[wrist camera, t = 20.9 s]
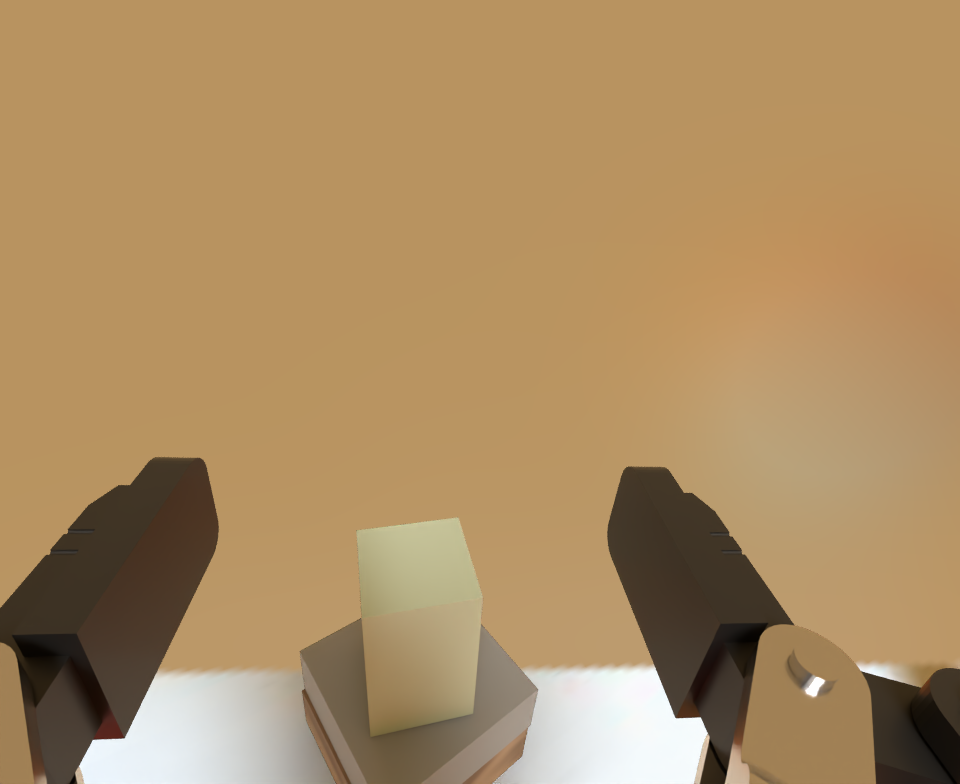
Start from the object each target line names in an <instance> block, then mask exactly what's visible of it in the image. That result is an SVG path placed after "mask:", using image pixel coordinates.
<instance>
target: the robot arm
mask: <svg viewBox="0 0 960 784" xmlns="http://www.w3.org/2000/svg"><path fill="white" fill-rule="evenodd" d="M218 528H219V526H218V518H217V513H216V509H215V504H214V499H213V495H212V490H211V486H210V481H209V476H208V472H207V468H206V465H205V462H204V461H203V460H202V459H201V458H169V457H155V458H153V459H152V460H150V461H149V462H148V463H147V465H146V466H145V467H144V468H143V470H142V471H141V472H140V473H139V475H138V476H137V477H136V478H135V480H134V481H133V482H132V484H131V485H118V486H117V487H116V488H114V489H112V490H111V491H109V492H108V493H106V494H105V495H103V496H102V497H100V498H99V499H97V500H96V501H94V502H93V503H91V504H90V505H88V507H87V508H86V509H85V510H84V511H83V512H82V514H81V515H80V516H79V517H78V518H77V520H76V521H75V522H74V523H73V524H72V525H71V526H70V528H69V529H68V533H67V534H64V535H63V536H62V537H61V538H60V539H59V540H58V542H57V543H56V544H55V545H54V546H53V547H52V549H51V553H50V555H46V556H45V557H44V558H43V559H42V560H41V561H40V563H39V564H38V565H37V566H36V567H35V568H34V570H33V571H32V572H31V573H30V574H29V576H28V577H27V578H26V579H25V580H24V581H23V582H22V584H21V585H20V586H19V587H18V588H17V589H16V591H15V592H14V593H13V594H12V595H11V596H10V598H9V599H8V600H7V601H6V602H5V603H4V605H3V606H2V607H1V608H0V784H84V780H83V776H82V772H81V770H80V767H79V765H80V763H81V761H82V759H83V757H84V755H85V754H86V752H87V750H88V748H89V746H90V744H91V742H92V740H97V739H122V738H125V736H126V734H127V732H128V730H129V728H130V726H131V724H132V722H133V720H134V718H135V716H136V714H137V712H138V710H139V707H140V705H141V703H142V701H143V699H144V697H145V695H146V693H147V691H148V689H149V687H150V685H151V683H152V681H153V679H154V676H155V674H156V672H157V670H158V668H159V666H160V664H161V662H162V659H163V658H164V656H165V654H166V652H167V650H168V647H169V645H170V643H171V641H172V639H173V637H174V635H175V633H176V631H177V629H178V627H179V625H180V623H181V621H182V619H183V616H184V614H185V613H186V610H187V608H188V606H189V604H190V602H191V600H192V598H193V596H194V594H195V592H196V590H197V588H198V585H199V584H200V582H201V579H202V577H203V575H204V573H205V571H206V569H207V567H208V565H209V563H210V561H211V559H212V557H213V554H214V552H215V549H216V545H217V540H218ZM607 533H608V536H607V537H608V546H609V551H610V554H611V557H612V560H613V563H614V565H615V567H616V570H617V572H618V575H619V577H620V580H621V582H622V585H623V588H624V590H625V593H626V595H627V597H628V600H629V602H630V605H631V608H632V610H633V613H634V615H635V618H636V620H637V622H638V625H639V627H640V630H641V632H642V635H643V637H644V640H645V643H646V645H647V647H648V650H649V653H650V655H651V658H652V660H653V663H654V665H655V668H656V670H657V673H658V675H659V678H660V680H661V683H662V685H663V688H664V690H665V693H666V695H667V698H668V700H669V703H670V705H671V708H672V710H673V713H674V715H675V718H695V717H701V719H702V721H703V723H704V726H705V728H706V730H707V732H708V734H707V736H706V738H705V740H704V743H703V746H702V750H701V755H700V759H699V764H698V768H697V772H696V777H695V781H694V784H960V669H954V668H945V669H941V670H938V671H936V672H935V673H934V674H933V675H932V676H931V677H930V678H929V680H928V681H927V682H926V683H925V684H924V685H923V687H922V688H920V687H916V686H912V685H909V684H905V683H901V682H898V681H894V680H890V679H887V678H883V677H880V676H876V675H872V674H869V673H865V672H862V671H860V669H859V668H858V667H857V665H856V664H855V663H854V662H853V661H852V660H851V658H850V657H849V656H848V655H847V654H846V653H844V652H843V651H842V650H841V649H840V648H839V647H837V646H836V645H835V644H833V643H832V642H830V641H829V640H827V639H826V638H824V637H822V636H821V635H819V634H817V633H815V632H812V631H810V630H808V629H805V628H802V627H799V626H795V625H794V624H793V623H792V621H791V620H790V618H789V617H788V616H787V614H786V613H785V611H784V610H783V608H782V607H781V605H780V604H779V603H778V601H777V600H776V598H775V597H774V595H773V594H772V593H771V591H770V590H769V588H768V587H767V586H766V584H765V583H764V581H763V580H762V578H761V577H760V575H759V574H758V573H757V571H756V570H755V568H754V567H753V565H752V564H751V563H750V561H749V560H748V558H747V557H746V556H745V555H742V552H741V551H742V550H741V548H740V547H739V545H738V544H737V543H736V541H735V540H734V538H733V537H730V536H729V531H728V530H727V528H726V527H725V526H724V524H723V523H722V521H721V520H720V518H719V517H718V516H717V514H716V512H715V511H714V510H712V509H711V508H710V507H709V506H708V505H706V504H705V503H704V502H703V501H701V500H700V499H699V498H698V497H696V496H695V495H694V494H692V493H683V491H682V489H681V488H680V486H679V485H678V483H677V482H676V480H675V479H674V477H673V476H672V474H671V473H670V471H669V470H668V469H667V468H665V467H626V468H625V470H624V471H623V473H622V476H621V480H620V483H619V487H618V491H617V494H616V498H615V502H614V505H613V509H612V513H611V516H610V520H609V524H608V532H607Z"/></svg>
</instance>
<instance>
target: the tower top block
mask: <svg viewBox="0 0 960 784" xmlns="http://www.w3.org/2000/svg"><path fill="white" fill-rule="evenodd" d="M300 657H301V664H302V672H303V679H304V687H305V690H306V692H307V694H308V696H309V698H310V700H311V702H312V704H313V706H314V709H315V711H316V713H317V715H318V717H319V719H320V721H321V723H322V725H323V727H324V729H325V731H326V733H327V735H328V737H329V739H330V741H331V743H332V745H333V747H334V749H335V751H336V753H337V756H338V758H339V760H340V762H341V764H342V766H343V768H344V770H345V772H346V774H347V776H348V778H349V780H350V782H351V784H462V783H463V782H465V781H466V780H467V779H468V778H469V777H470V776H472V775H473V774H474V773H475V772H476V771H478V770H479V769H480V768H481V767H482V766H483V765H485V764H486V763H487V762H488V761H489V760H490V759H492V758H493V757H494V756H495V755H496V754H498V753H499V752H500V751H501V750H502V749H503V748H505V747H506V746H507V745H508V744H509V743H510V742H512V741H513V740H514V739H515V738H516V737H517V736H519V735H520V734H521V733H522V732H523V731H525V730H526V729H527V728H528V727H529V726H530V724H531V720H532V715H533V710H534V706H535V701H536V697H537V692H538V689H537V688H536V687H535V685H534V684H533V683H532V682H531V681H530V680H529V678H528V677H527V676H526V675H525V674H524V673H523V672H522V670H521V669H520V668H519V667H518V666H517V665H516V664H515V662H514V661H513V660H512V659H511V658H510V657H509V655H508V654H507V653H506V652H505V651H504V650H503V649H502V647H501V646H500V645H499V644H498V643H497V642H496V641H495V639H494V638H493V637H492V636H491V635H490V634H489V632H488V631H487V630H486V629H485V628H484V627H483V626H482V624H481V629H480V641H479V652H478V663H477V675H476V686H475V697H474V709H473V714H470V715H466V716H462V717H457V718H453V719H448V720H444V721H440V722H435V723H431V724H426V725H422V726H417V727H413V728H409V729H404V730H400V731H395V732H391V733H387V734H382V735H378V736H373V737H370V724H369V711H368V698H367V684H366V671H365V657H364V644H363V631H362V618H360V619H359V620H357V621H355V622H353V623H351V624H349V625H348V626H346V627H344V628H342V629H340V630H338V631H336V632H335V633H333V634H331V635H329V636H327V637H325V638H323V639H322V640H320V641H318V642H316V643H314V644H312V645H311V646H309V647H307V648H305V649H303V650H301V651H300Z"/></svg>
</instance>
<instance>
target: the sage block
mask: <svg viewBox="0 0 960 784" xmlns="http://www.w3.org/2000/svg"><path fill="white" fill-rule="evenodd" d="M357 547H358V548H357V549H358V566H359V583H360V600H361V615H362V616H361V617H362V631H363V644H364V657H365V671H366V684H367V698H368V711H369V724H370V737H373V736H378V735H382V734H387V733H391V732H395V731H400V730H404V729H409V728H413V727H417V726H422V725H426V724H431V723H435V722H440V721H444V720H448V719H453V718H457V717H462V716H466V715H470V714H473V709H474V697H475V686H476V675H477V663H478V652H479V641H480V629H481V618H482V606H483V595H482V592H481V589H480V586H479V582H478V579H477V576H476V573H475V570H474V566H473V563H472V560H471V557H470V553H469V550H468V547H467V544H466V540H465V537H464V534H463V531H462V528H461V524H460V521H459V518H458V517H457V518H450V519H442V520H434V521H426V522H419V523H411V524H403V525H395V526H387V527H380V528H372V529H364V530H357Z"/></svg>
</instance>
